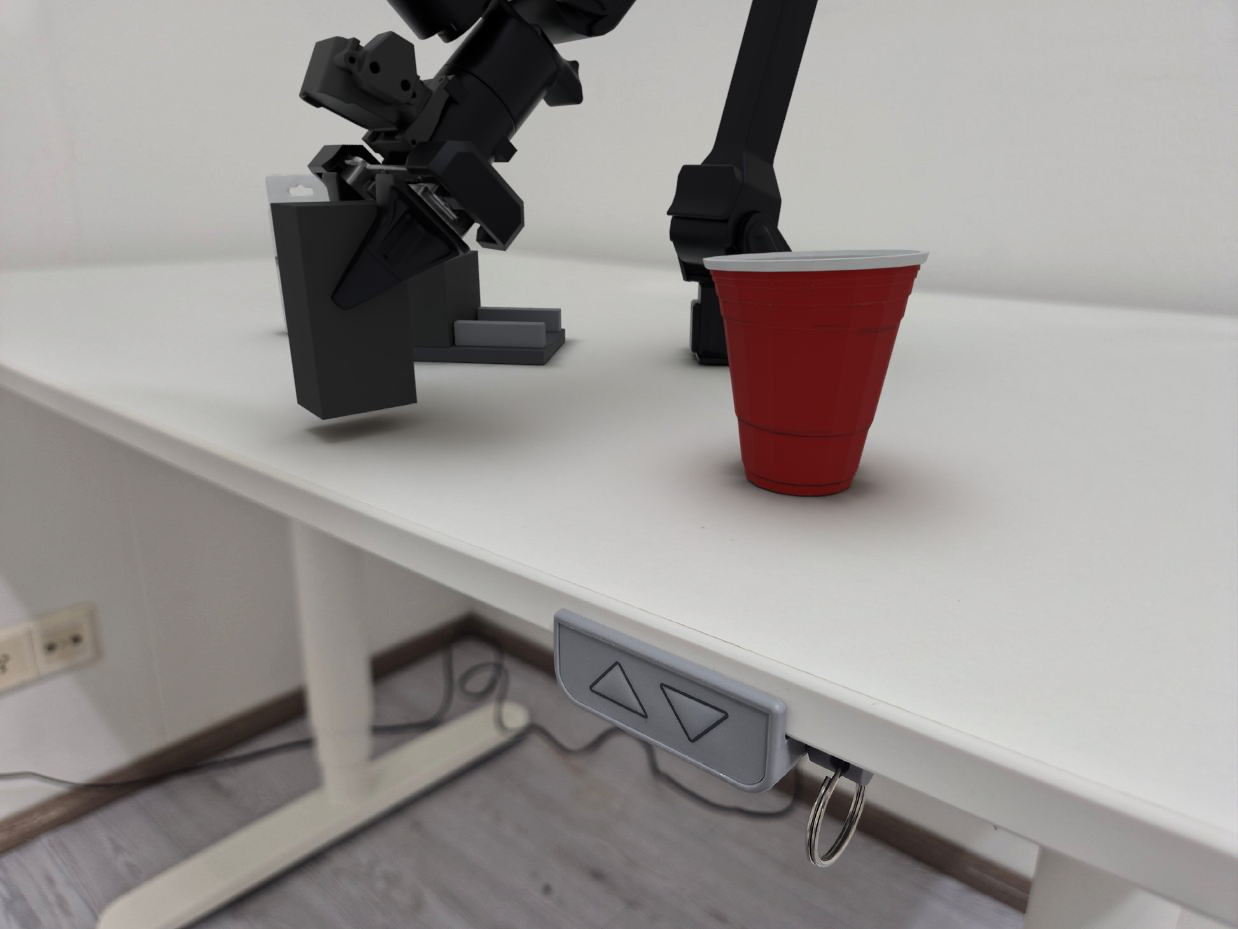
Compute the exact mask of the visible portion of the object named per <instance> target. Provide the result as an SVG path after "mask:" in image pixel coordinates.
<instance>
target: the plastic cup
mask: <svg viewBox="0 0 1238 929" xmlns="http://www.w3.org/2000/svg"><path fill="white" fill-rule="evenodd" d="M929 255H930V251H929V250H918V249H916V250H915V249H831V250H804V251H803V250H801V251H793V252H774V253H757V254H741V255H729V256H717V257H710V258H704V259H703V262H704V266H705V267H706V268H707V269H710V274H711V275H712V280H713V281H714V283H715V289H716V294H717V296H718V297H719V304H720V310H721V315H722V316H723V320H724V328H725V336H726V344H727V352H728V360H729V364H728V367H729V374H730V376H729V377H730V384H731V392H732V400H733V408H734V414H735V416H736V420H737V427H738V428H737V429H738V437H739V447H740V457H741V463H742V465H743V469H744V473H745V477H746V479H747V480H748V481H750V482H751V483H752V484H754V485H755V486H757V487H759V488H762V489H765V490H768V491H770V492H775V493H779V494H787V495H793V496H817V497H819V496H825V495H831V494H838V493H840V492H842V491H844V490H847V489H849V488H850V487H851V484H852V482H853V481H854V477H855V476H856V475H857V472H858V470H859V467H860V463H861V460H862V456H863V452H864V450H865V446H866V442H867V437H868V434H869V430H870V429H871V426H872V424H873V423H874V419H875V418H876V417H875V416H876V413H877V410H878V405H879V402H880V399H881V395H882V391H883V387H884V384H885V380H886V377H887V373H888V369H889V366H890V361H891V359H892V356H893V351H894V347H895V344H896V340H897V336H898V333H899V329H900V326H901V323H902V320H903V319H904V317H905V315H906V309H907V307H908V306H907V305H908V301H909V297H910V296H911V295H912V293H913V288H914V284H915V280H916V279H917V277H918V274H919V271H921V265H923V264H926V262H928V257H929Z"/></svg>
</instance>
